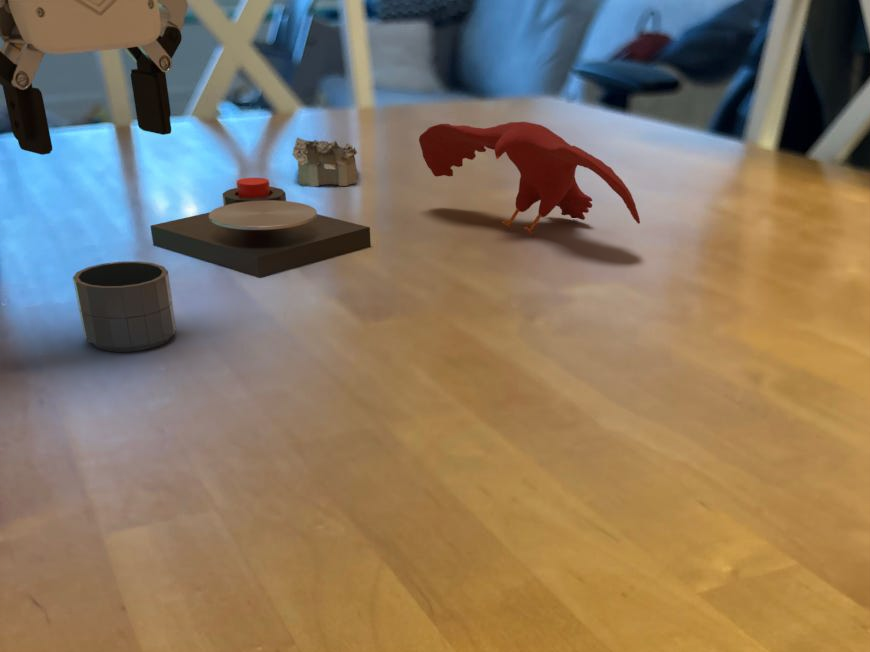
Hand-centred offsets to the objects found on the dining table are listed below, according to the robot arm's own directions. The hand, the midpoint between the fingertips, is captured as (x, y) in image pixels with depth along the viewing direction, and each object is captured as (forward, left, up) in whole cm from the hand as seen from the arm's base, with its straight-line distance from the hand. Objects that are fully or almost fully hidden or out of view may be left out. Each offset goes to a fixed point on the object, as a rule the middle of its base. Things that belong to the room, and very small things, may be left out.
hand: (98, 141), depth 78 cm
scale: (-13, +24, -14) cm, 31 cm away
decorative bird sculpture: (+3, +47, -14) cm, 49 cm away
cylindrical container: (0, 0, -14) cm, 14 cm away
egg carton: (-31, +49, -14) cm, 60 cm away
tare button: (-18, +28, -11) cm, 35 cm away
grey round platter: (-10, +23, -11) cm, 27 cm away
